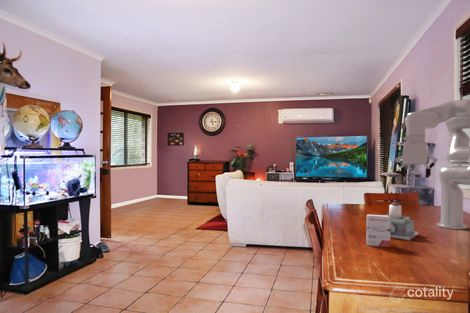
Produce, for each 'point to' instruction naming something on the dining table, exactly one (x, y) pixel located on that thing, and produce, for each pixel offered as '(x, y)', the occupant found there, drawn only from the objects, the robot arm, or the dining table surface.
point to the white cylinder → (395, 211)
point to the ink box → (378, 230)
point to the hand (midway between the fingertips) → (415, 177)
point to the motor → (402, 228)
